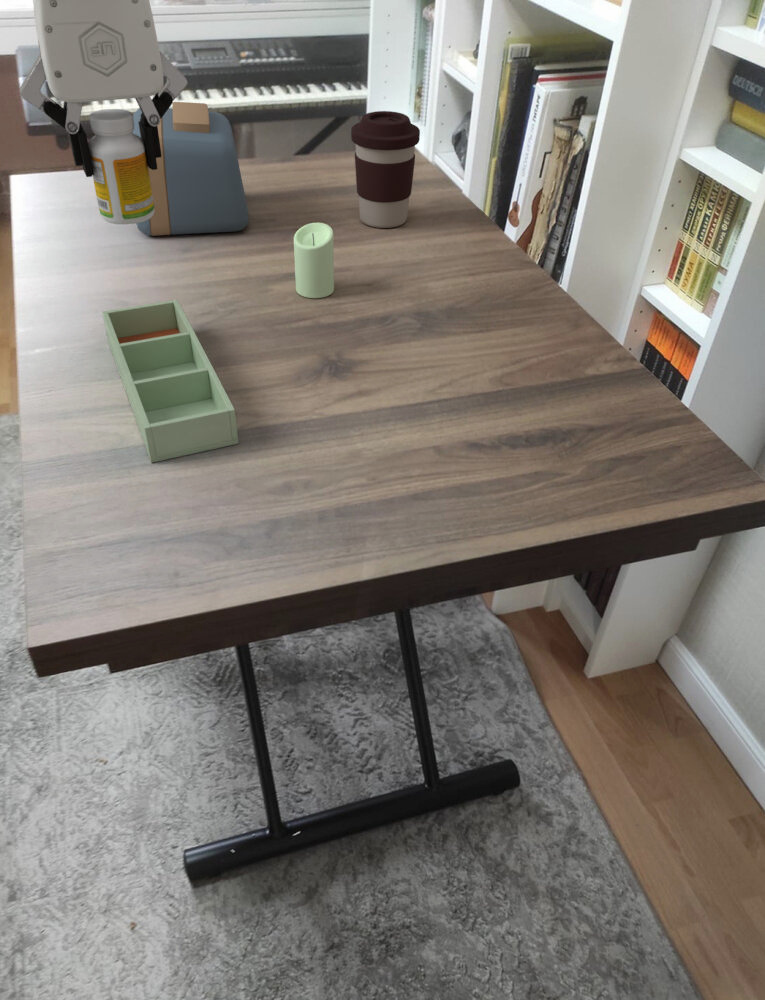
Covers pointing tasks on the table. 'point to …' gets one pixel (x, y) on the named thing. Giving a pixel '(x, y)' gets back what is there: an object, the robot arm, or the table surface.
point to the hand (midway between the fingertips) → (119, 167)
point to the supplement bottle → (119, 168)
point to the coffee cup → (384, 166)
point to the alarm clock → (195, 174)
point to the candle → (314, 260)
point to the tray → (169, 381)
